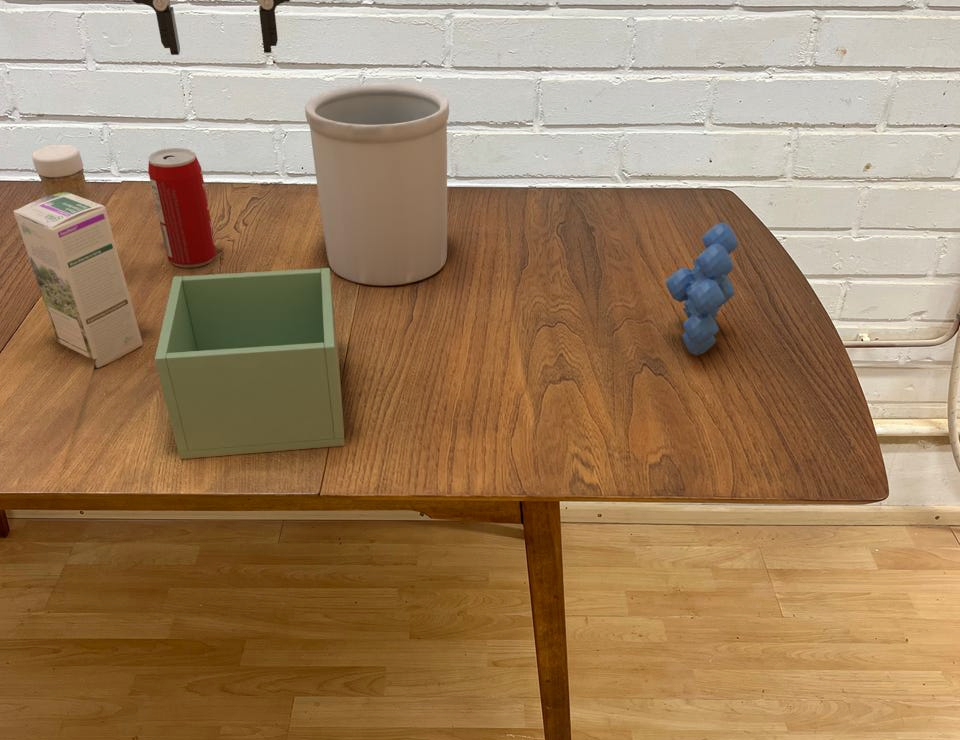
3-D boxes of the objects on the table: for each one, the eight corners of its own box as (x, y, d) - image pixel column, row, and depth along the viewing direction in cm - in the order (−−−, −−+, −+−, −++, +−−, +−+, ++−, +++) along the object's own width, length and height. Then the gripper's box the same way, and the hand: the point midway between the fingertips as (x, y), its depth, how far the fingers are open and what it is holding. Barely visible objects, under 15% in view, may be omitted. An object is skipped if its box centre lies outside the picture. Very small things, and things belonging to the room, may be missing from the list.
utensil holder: (296, 255, 103) (276, 98, 92) (398, 221, 111) (391, 72, 100) (372, 303, 95) (360, 136, 84) (476, 262, 102) (479, 105, 91)
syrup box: (145, 345, 88) (108, 202, 78) (95, 371, 84) (50, 225, 74) (108, 327, 90) (68, 187, 81) (57, 352, 86) (9, 208, 77)
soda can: (226, 258, 102) (208, 154, 95) (185, 273, 99) (162, 167, 91) (199, 243, 105) (179, 140, 97) (158, 258, 102) (134, 153, 94)
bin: (180, 459, 74) (154, 358, 68) (194, 370, 84) (173, 276, 78) (344, 446, 76) (334, 346, 69) (339, 360, 86) (329, 267, 80)
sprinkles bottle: (110, 260, 101) (78, 141, 93) (112, 277, 98) (79, 156, 90) (67, 265, 100) (31, 145, 92) (68, 284, 97) (30, 161, 88)
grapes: (666, 308, 95) (684, 199, 87) (730, 319, 93) (754, 209, 86) (646, 363, 86) (664, 248, 79) (716, 376, 85) (742, 260, 77)
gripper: (277, -159, 78) (296, 41, 89) (108, -162, 76) (148, 43, 86) (278, -152, 73) (298, 61, 83) (95, -155, 70) (139, 64, 81)
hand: (221, 52), depth 85 cm, fingers open, 8 cm apart
